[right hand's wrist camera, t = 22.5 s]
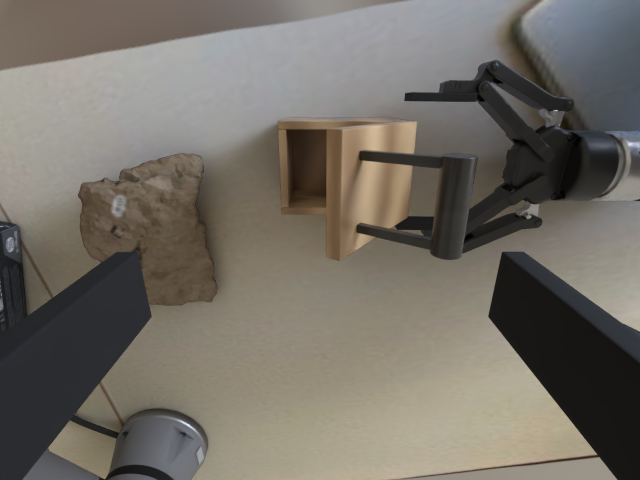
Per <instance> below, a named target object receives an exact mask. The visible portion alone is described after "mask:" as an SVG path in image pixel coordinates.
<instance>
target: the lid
mask: <svg viewBox="0 0 640 480" xmlns="http://www.w3.org/2000/svg"><path fill="white" fill-rule="evenodd" d="M416 129H417V122H416V121H401V122H391V123H381V124H370V125H360V126H350V127H339V128H329V129H327V156H326V257H328V258H331V259H335V260H338V261H340V260H342V259H343V258H345V257H346V256H348V255H350V254H351V253H353V252H354V251H356V250H357V249H359V248H360V247H362V246H364V245H365V244H367V243H368V242H370V241H371V240H373V239H375V238H376V237H377V238H382V239H386V240H390V241H395V242H399V243H403V244H408V245H412V246H416V247H420V248H425V249H429V250H430V253H431V255H433V256H435V257H437V258H440V259H446V260H455V259H459V258H460V257H461V256H462V250H463V244H464V237H465V231H466V225H467V219H468V213H469V207H470V201H471V195H472V189H473V183H474V177H475V171H476V165H477V159H478V157H477V156H475V155H470V154H457V153H451V154H443V155H442V156H435V155H423V154H414V149H415V139H416ZM413 166H420V167H430V168H440V174H439V182H438V190H437V198H436V206H435V214H434V222H433V230H432V238H431V237H426V236H422V235H417V234H412V233H408V232H403V231H398V230H393V229H390V228H392V227H393V226H395V225H397V224H398V223H400V222H401V221H403V220H404V219H406V218H407V217H408V211H409V200H410V190H411V180H412V170H413Z"/></svg>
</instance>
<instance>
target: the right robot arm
mask: <svg viewBox="0 0 640 480" xmlns="http://www.w3.org/2000/svg"><path fill="white" fill-rule="evenodd" d="M151 317H152V316H151V311H150V306H149V302H148V297H147V292H146V288H145V283H144V278H143V274H142V269H141V264H140V260H139V255H138V252H116V253H114V254H113V255H111V256H110V257H109V258H107V259H106V260H105V261H103V262H102V263H100V264H99V265H98V266H96V267H95V268H94V269H92V270H91V271H89V272H88V273H87V274H85V275H84V276H83V277H81V278H80V279H78V280H77V281H76V282H74V283H73V284H72V285H70V286H69V287H67V288H66V289H65V290H63V291H62V292H60V293H59V294H58V295H56V296H55V297H54V298H52V299H51V300H49V301H48V302H47V303H45V304H44V305H43V306H41V307H40V308H38V309H37V310H36V311H34V312H33V313H32V314H30V315H29V316H27V317H26V318H25V319H23V320H22V321H21V322H19V323H18V324H16V325H15V326H14V327H12V328H10V329H8V330H6V331H4V332H2V333H0V480H191V479H192V478H193V476H194V475H195V473H196V472H197V470H198V469H199V468H200V466H201V465H202V463H203V461H204V458H205V455H206V452H207V449H208V440H207V436H206V434H205V432H204V430H203V429H202V428H201V427H200V425H199V424H198V423H196V422H195V421H194V420H192V419H191V418H189V417H188V416H186V415H184V414H181V413H179V412H175V411H171V410H166V409H150V410H145V411H142V412H139V413H137V414H135V415H133V416H132V417H130V418H129V419H128V420H127V421H126V423H125V424H124V426H123V428H122V429H121V431H120V433H117V432H115V431H112V430H109V429H106V428H104V427H101V426H98V425H96V424H93V423H90V422H88V421H85V420H83V419H81V418H79V417H77V416H75V415H74V414H75V413H76V412H77V410H78V409H79V408H80V407H81V405H82V404H83V403H84V401H85V400H86V399H87V398H88V396H89V395H90V394H91V393H92V391H93V390H94V389H95V388H96V386H97V385H98V384H99V383H100V381H101V380H102V379H103V377H104V376H105V375H106V374H107V372H108V371H109V370H110V369H111V367H112V366H113V365H114V364H115V362H116V361H117V360H118V359H119V357H120V356H121V355H122V354H123V352H124V351H125V350H126V348H127V347H128V346H129V345H130V343H131V342H132V341H133V340H134V338H135V337H136V336H137V335H138V333H139V332H140V331H141V330H142V328H143V327H144V326H145V324H146V323H147V322H148V321H149V319H150V318H151ZM488 317H489V318H490V319H491V321H492V322H493V323H494V324H495V326H496V327H497V328H498V330H499V331H500V332H501V333H502V335H503V336H504V337H505V338H506V340H507V341H508V342H509V343H510V345H511V346H512V347H513V348H514V350H515V351H516V352H517V354H518V355H519V356H520V357H521V359H522V360H523V361H524V362H525V364H526V365H527V366H528V367H529V369H530V370H531V371H532V372H533V374H534V375H535V376H536V377H537V379H538V380H539V381H540V383H541V384H542V385H543V386H544V388H545V389H546V390H547V391H548V393H549V394H550V395H551V396H552V398H553V399H554V400H555V401H556V403H557V404H558V405H559V407H560V408H561V409H562V410H563V412H564V413H565V414H566V415H567V417H568V418H569V419H570V420H571V422H572V423H573V424H574V425H575V427H576V428H577V429H578V430H579V432H580V433H581V434H582V436H583V437H584V438H585V439H586V441H587V442H588V443H589V444H590V446H591V447H592V448H593V449H594V451H595V452H596V453H597V454H598V456H599V457H600V458H601V460H602V461H603V462H604V463H605V465H606V466H607V467H608V468H609V470H610V471H611V472H612V473H613V475H614V476H615V477H616V478H617V480H640V332H639V331H637V330H635V329H633V328H631V327H629V326H627V325H625V324H622V323H621V322H619V321H618V320H617V319H615V318H614V317H613V316H611V315H610V314H608V313H607V312H606V311H604V310H603V309H602V308H600V307H599V306H597V305H596V304H595V303H593V302H592V301H591V300H589V299H588V298H586V297H585V296H584V295H582V294H581V293H580V292H578V291H577V290H575V289H574V288H573V287H571V286H570V285H568V284H567V283H566V282H564V281H563V280H562V279H560V278H559V277H557V276H556V275H555V274H553V273H552V272H551V271H549V270H548V269H546V268H545V267H544V266H542V265H541V264H540V263H538V262H537V261H535V260H534V259H533V258H531V257H530V256H529V255H527V254H526V253H524V252H502V255H501V260H500V264H499V269H498V274H497V278H496V283H495V288H494V292H493V297H492V302H491V306H490V311H489V316H488ZM69 420H71V421H73V422H75V423H77V424H79V425H82V426H84V427H87V428H89V429H92V430H94V431H97V432H100V433H102V434H105V435H108V436H111V437H113V438H116V439H117V441H116V445H115V449H114V454H113V458H112V462H111V467H110V471H109V474H108V475H107V477H106V479H103V478H101V477H99V476H97V475H95V474H93V473H91V472H89V471H87V470H85V469H83V468H81V467H79V466H77V465H76V464H74V463H72V462H70V461H68V460H66V459H64V458H62V457H60V456H58V455H56V454H54V453H52V452H50V451H49V449H48V447H49V446H50V444H51V443H52V442H53V441H54V439H55V438H56V437H57V436H58V434H59V433H60V432H61V430H62V429H63V428H64V427H65V425H66V424H67V423H68V422H69Z"/></svg>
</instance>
